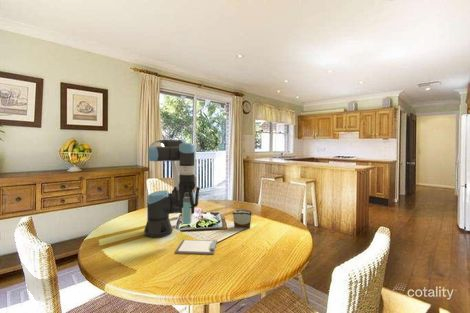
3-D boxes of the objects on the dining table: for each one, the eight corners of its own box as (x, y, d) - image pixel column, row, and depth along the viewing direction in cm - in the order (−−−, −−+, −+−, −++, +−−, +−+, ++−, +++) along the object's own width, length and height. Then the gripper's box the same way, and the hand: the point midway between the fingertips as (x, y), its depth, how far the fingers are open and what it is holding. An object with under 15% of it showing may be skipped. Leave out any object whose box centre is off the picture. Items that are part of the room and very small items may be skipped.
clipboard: (175, 253, 111) (175, 250, 111) (183, 240, 125) (183, 237, 125) (213, 254, 110) (213, 251, 110) (217, 241, 124) (217, 238, 124)
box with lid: (183, 223, 119) (182, 198, 118) (184, 221, 123) (184, 196, 122) (189, 224, 119) (189, 198, 118) (191, 221, 122) (191, 196, 122)
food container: (252, 225, 149) (252, 209, 149) (252, 228, 143) (252, 212, 143) (233, 224, 150) (233, 208, 150) (231, 227, 144) (232, 211, 144)
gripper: (168, 174, 116) (169, 222, 118) (201, 175, 115) (201, 222, 117) (173, 172, 124) (173, 217, 125) (204, 173, 123) (204, 217, 124)
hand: (187, 219), depth 121 cm, fingers closed on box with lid, 3 cm apart
